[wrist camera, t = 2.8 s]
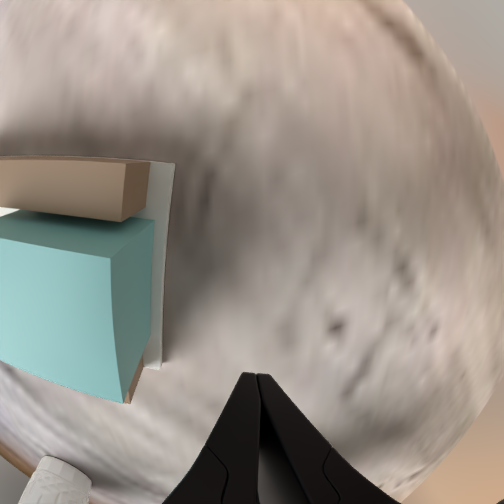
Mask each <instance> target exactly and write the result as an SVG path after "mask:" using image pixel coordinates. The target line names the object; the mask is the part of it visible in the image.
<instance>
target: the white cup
mask: <svg viewBox="0 0 504 504" xmlns="http://www.w3.org/2000/svg"><path fill="white" fill-rule="evenodd" d="M91 487H92V481H91V480H90V479H89V478H88V477H87V476H86V475H85V474H84V473H82V472H81V471H79V470H78V469H77V468H75V467H73V466H71V465H70V464H68V463H66V462H64V461H62V460H59V459H57V458H54V457H50V456H44V457H43V458H42V459H41V461H40V463H39V465H38V467H37V469H36V471H34V473H33V475H32V476H31V478H30V480H29V482H28V485H27V486H26V488H25V490H24V492H23V494H22V496H21V498H20V501H19V503H18V504H89V499H88V498H89V495H90V491H91Z"/></svg>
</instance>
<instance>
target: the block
mask: <svg viewBox="0 0 504 504" xmlns="http://www.w3.org/2000/svg"><path fill="white" fill-rule="evenodd" d="M154 223H155V220H151V219H143V218H135V217H129V218H127V219H125V220H124V221H122V222H116V221H109V220H101V219H93V218H86V217H78V216H70V215H62V214H54V213H46V212H38V211H29V210H21V209H20V210H17V211H15V212H12V213H9V214H6V215H4V216H1V217H0V360H1V361H3V362H5V363H8V364H10V365H12V366H14V367H16V368H19V369H21V370H23V371H26V372H28V373H30V374H33V375H35V376H38V377H40V378H43V379H45V380H48V381H51V382H53V383H56V384H59V385H62V386H65V387H67V388H70V389H73V390H76V391H80V392H83V393H86V394H89V395H93V396H96V397H100V398H103V399H107V400H111V401H114V402H118V403H122V404H123V403H124V400H125V398H126V395H127V392H128V390H129V387H130V384H131V382H132V379H133V377H134V374H135V372H136V369H137V367H138V364H139V361H140V359H141V357H142V354H143V352H144V349H145V347H146V344H147V342H148V339H149V337H150V305H151V270H152V251H153V235H154Z"/></svg>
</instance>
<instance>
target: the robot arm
mask: <svg viewBox="0 0 504 504" xmlns="http://www.w3.org/2000/svg"><path fill="white" fill-rule="evenodd" d="M331 447H332V446H331V444H330V443H329V442H328V441H327V440H326V439H325V438H324V437H323V436H322V435H321V433H320V432H319V431H318V430H317V429H316V428H315V427H314V426H313V425H312V423H311V422H310V421H309V420H308V419H307V418H306V417H305V415H304V414H303V413H302V412H301V411H300V410H299V409H298V407H297V406H296V405H295V404H294V403H293V402H292V400H291V399H290V398H289V397H288V396H287V394H286V393H285V392H284V391H283V390H282V389H281V387H280V386H279V385H278V384H277V382H276V381H275V380H274V379H273V378H272V376H271V375H269V374H261V373H257V374H255V373H249V372H243V373H242V374H241V375H240V377H239V379H238V381H237V383H236V385H235V387H234V389H233V391H232V393H231V395H230V397H229V399H228V401H227V403H226V405H225V407H224V409H223V411H222V413H221V415H220V417H219V419H218V421H217V422H216V424H215V426H214V428H213V430H212V432H211V434H210V436H209V438H208V439H207V441H206V443H205V446H204V447H203V448H202V450H201V452H200V454H199V456H198V457H197V459H196V461H195V462H194V464H193V465H192V467H191V469H190V470H189V471H188V473H187V474H186V475H185V477H184V478H183V479H182V481H181V482H180V483H179V484H178V485H177V487H176V488H175V489H174V490H173V491H172V492H171V494H170V495H169V496H168V497H167V498H166V499H165V500H164V502H163V503H162V504H401V503H399V502H397V501H396V500H394V499H393V498H391V497H390V496H389V495H387V494H386V493H385V492H383V491H382V490H381V489H379V488H378V487H377V486H375V485H374V484H373V483H371V482H370V481H369V480H368V479H366V478H365V477H364V476H363V475H361V474H360V473H359V472H358V471H357V470H356V469H354V468H353V467H352V466H351V465H350V464H349V463H348V462H347V461H346V460H345V459H344V458H343V457H342V456H341V455H340V454H339V453H338V452H337V451H336V450H335V449H334V448H333V447H332V448H331ZM497 504H504V499H503V500H501V501H500V502H498V503H497Z"/></svg>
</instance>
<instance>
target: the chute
mask: <svg viewBox="0 0 504 504" xmlns="http://www.w3.org/2000/svg"><path fill="white" fill-rule="evenodd" d="M174 172H175V163H166V162H156V161H145V160H133V159H119V158H103V157H82V156H0V217H1V216H4V215H6V214H9V213H12V212H15V211H17V210H20V209H21V210H29V211H38V212H46V213H54V214H62V215H70V216H78V217H86V218H93V219H101V220H109V221H116V222H122V221H124V220H125V219H127V218H129V217H135V218H143V219H151V220H155V223H154V235H153V251H152V270H151V305H150V337H149V339H148V342H147V344H146V347H145V349H144V352H143V354H142V357H141V359H140V361H139V364H138V367H137V369H136V372H135V374H134V377H133V379H132V382H131V384H130V387H129V390H128V392H127V395H126V398H125V400H124V403H128V404H130V403H131V400H132V397H133V395H134V392H135V389H136V386H137V383H138V381H139V378H140V375H141V372H142V370H143V367H146V368H151V369H156V370H161V366H162V326H163V295H164V275H165V260H166V246H167V234H168V224H169V214H170V204H171V195H172V187H173V179H174Z"/></svg>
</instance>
